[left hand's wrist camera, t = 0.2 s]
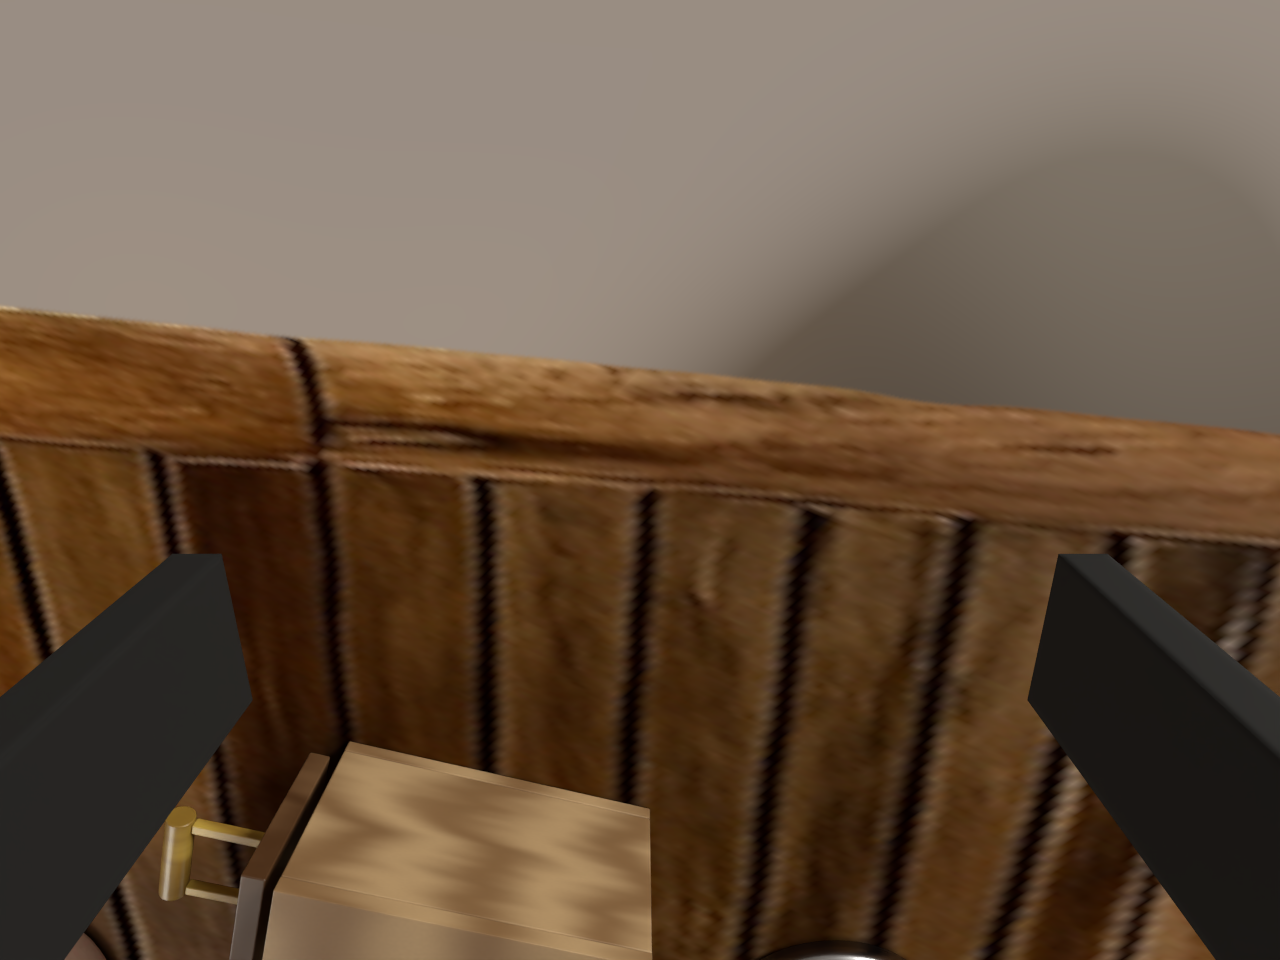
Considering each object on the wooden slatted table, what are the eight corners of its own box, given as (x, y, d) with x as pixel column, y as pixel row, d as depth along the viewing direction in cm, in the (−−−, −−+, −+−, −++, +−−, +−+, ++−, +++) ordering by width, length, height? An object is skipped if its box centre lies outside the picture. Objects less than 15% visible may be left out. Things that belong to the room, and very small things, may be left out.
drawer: (197, 851, 50) (110, 986, 42) (211, 729, 47) (119, 850, 38) (561, 926, 52) (546, 1069, 44) (599, 816, 49) (591, 947, 41)
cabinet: (324, 871, 52) (248, 1039, 42) (349, 740, 48) (273, 890, 38) (604, 930, 54) (596, 1104, 44) (650, 808, 50) (652, 968, 40)
